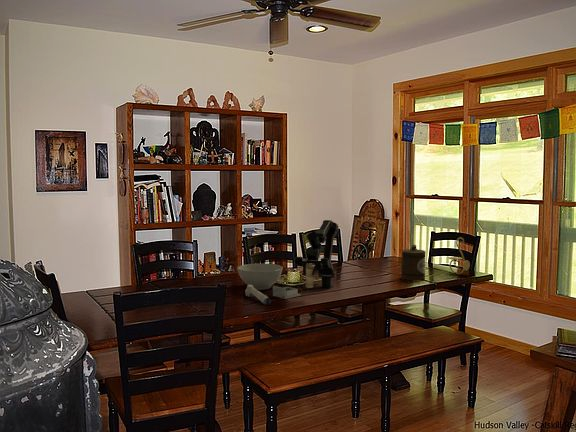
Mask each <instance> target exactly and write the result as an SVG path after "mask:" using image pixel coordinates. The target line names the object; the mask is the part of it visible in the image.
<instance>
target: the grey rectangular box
mask: <svg viewBox="0 0 576 432" xmlns="http://www.w3.org/2000/svg"><path fill="white" fill-rule="evenodd" d="M298 291H299V290H298V288H293V287H290V286H285V287H280V286H277V285H272V296H273V297H276V298H280V299H283V300H287V299H292V298H296V297H300V296H302V294H301V293H298Z"/></svg>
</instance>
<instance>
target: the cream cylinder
mask: <svg viewBox="0 0 576 432" xmlns="http://www.w3.org/2000/svg"><path fill="white" fill-rule="evenodd" d="M313 270H314V264H306V275H305V288H307V289H308V288H309V289H311V288H314V276H312V273H313Z"/></svg>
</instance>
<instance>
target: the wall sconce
mask: <svg viewBox="0 0 576 432" xmlns="http://www.w3.org/2000/svg"><path fill="white" fill-rule="evenodd" d="M459 240H461V241H460V244H464V243H465V239H464V238H463V237H458V238H457V239H456V241H455V244H456V247H457V249H458V252H459V253H460V255H461V257H460V256H459V257H458V256H448V257H447V259H448V260H451V261H450V262H449V269H450V271H451V272H452V273H453V274H455V273H456V274H455V275H461V274H462V273H464V271H468V270H469V269H470V266H471V263H470V261H469V260H466V259H465V256H464V254H463V252H462V249H461V248H460V245H459V243H458V242H459ZM460 260H462V262H463V263H462V268H463V269H461V271H460V272H455V271H454V270H453V268H452V262H453V264H454V266H455V267H456V268H460V266H461V263H460ZM457 263H458V265H457Z"/></svg>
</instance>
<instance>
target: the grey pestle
mask: <svg viewBox="0 0 576 432" xmlns="http://www.w3.org/2000/svg"><path fill="white" fill-rule="evenodd" d="M246 285H247V284H246ZM244 292H245V296H246V297H256V298H257V299H258V300H259V301H260V302H261V303H262V304H264V305H270V304H271V298H270V297H269V296H267V294H264V293H262V292H261V291H260V290H256V289H255V288H254V287H253V285H247V286H246V289H245V290H244Z"/></svg>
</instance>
